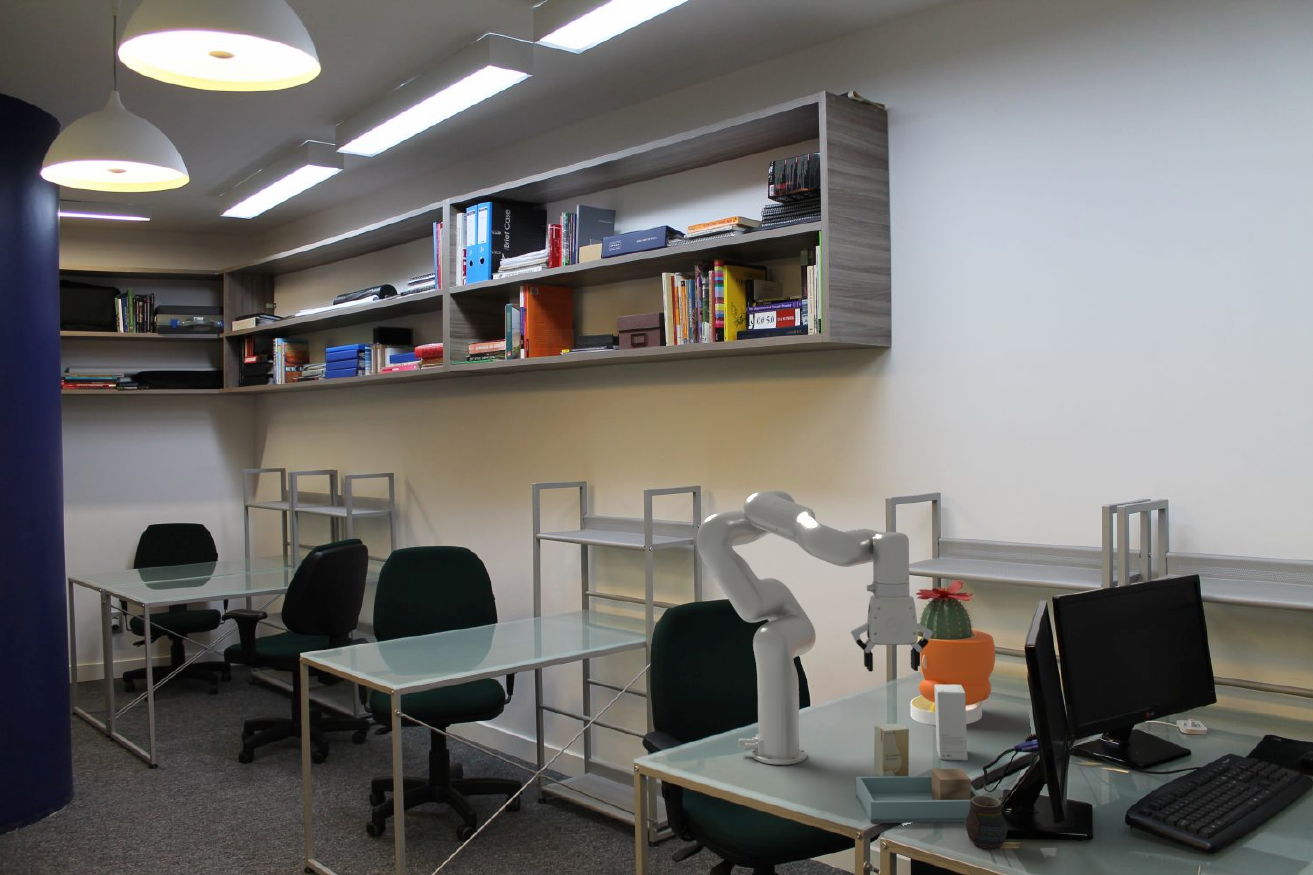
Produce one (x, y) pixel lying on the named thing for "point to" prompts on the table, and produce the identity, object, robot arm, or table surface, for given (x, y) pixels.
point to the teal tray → (907, 800)
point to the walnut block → (950, 785)
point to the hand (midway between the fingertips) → (892, 669)
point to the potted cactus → (952, 654)
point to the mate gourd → (986, 822)
